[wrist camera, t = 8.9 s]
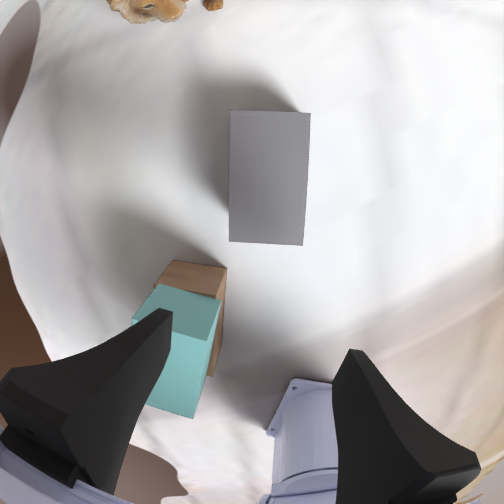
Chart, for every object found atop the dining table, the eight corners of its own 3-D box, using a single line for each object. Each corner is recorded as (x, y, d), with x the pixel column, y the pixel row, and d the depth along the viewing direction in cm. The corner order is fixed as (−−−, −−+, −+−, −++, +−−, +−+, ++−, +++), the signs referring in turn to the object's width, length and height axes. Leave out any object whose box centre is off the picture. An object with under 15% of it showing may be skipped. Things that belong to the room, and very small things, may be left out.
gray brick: (299, 224, 20) (302, 245, 16) (239, 221, 20) (228, 241, 17) (304, 118, 17) (310, 113, 14) (240, 115, 18) (230, 110, 14)
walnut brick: (222, 343, 24) (212, 376, 20) (175, 335, 24) (160, 365, 21) (227, 267, 22) (216, 295, 18) (173, 259, 22) (153, 284, 18)
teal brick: (205, 377, 21) (192, 419, 17) (154, 362, 21) (134, 400, 17) (221, 300, 18) (206, 341, 14) (158, 283, 18) (131, 318, 14)
